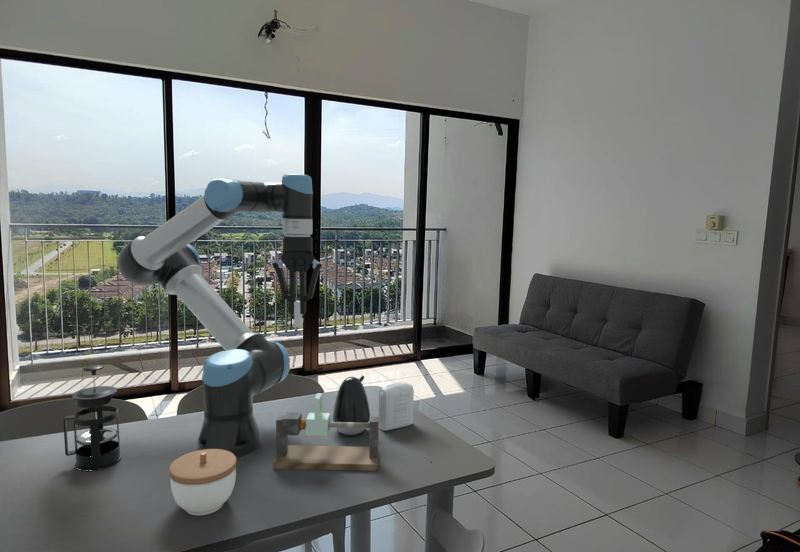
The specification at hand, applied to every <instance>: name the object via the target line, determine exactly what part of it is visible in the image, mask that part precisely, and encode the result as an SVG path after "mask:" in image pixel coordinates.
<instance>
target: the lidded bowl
mask: <svg viewBox="0 0 800 552" xmlns="http://www.w3.org/2000/svg"><path fill="white" fill-rule="evenodd" d="M168 474H169V479H170V490H171V493H172V497H173V498H174V499H173V500H174V501H175V503H176V504H177V505H178V506H179V507H180V508H181V509H183V510H184V511H185V512H186V513H187V514H188V515H191V516H198V517H199V516H201V517H202V516H206V515H210V514H213V513H216V512H217V511H219V510H220V509H221V508H222V507H223V505H224V504H225V502H227V501H228V499H229V498H230V496H231V495H232V494H233V493H232V492H233V490H234V488H235V484H236V479H237V457H236V456H235V455H234V454H233V453H231V452H229V451H226V450H222V449H204V450H198V449H197V450H194V451H191V452H188V453H185V454H183V455H181V456H179V457H178V458H177V457H176V459H174V460H173V461H172V463H170V465H169V467H168Z"/></svg>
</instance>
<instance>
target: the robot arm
mask: <svg viewBox="0 0 800 552" xmlns="http://www.w3.org/2000/svg"><path fill="white" fill-rule="evenodd" d="M281 177H282V179H281V182H262V181H254V180H253V181H252V180H251V181H250V180H249V181H248V180H239V179H232V178H228V177H227V178H216V179H212V180H211V181H209V183H207V186H206V188H204V195H201V197H199V198H198V199H196V200H195V201H194V202H192V203H191V204H189V205H188V206H186V207H185V208H184V209H183V210H180V212H178V213H177V214H175V215H174V216H173V217H171V218H170V219H168V220H166V221H165V222H164V223H162V224H161V225H160V226H158V227H157V228H155V230H153V231H151V232H150V233H149V234H147V235H145V236H138V237H136V238H134V239H133V240H132V241H130V242H128V244H126V245H125V246H124V247H123V248H122V249H121V251H120V252H119V255H118V257H117V267H118V271H119V273H120V274H121V276H122V277H123V279H125V280H126V281H128V282H129V283H131V284H134V285H137V286H151V285H159V286H161V287H162V288H163V289H164V291H165V292H166V293H167V294H168V295H173V296H174V295H175V296H177V297H178V299H180V300H181V302H182V303H183V304H184V305H185V306H186V307H187V309H188V310H189V311H190V312H191V313H192V314H193V315H194V316H195V317H196V319H197V320H198V321H199V322H200V324H202V325H203V327H204V328H205V329H206V330H207V331H208V333H210V334H211V336H212V337H213V338H214V339H215V340H216V342H217V343H218V344H219V345H220V346H221V348H223V349H224V350H222V351H218V352H215V353H213V354H211V355H210V356H208V357H207V358H206V359H205V360H204V363H203V365H202V377H201V379H202V380H201V381H202V390H203V392H202V393H203V397H202V398H203V421H202V425H201V428H200V429H199V430H200V431H199V433H198V438H197V442H196V443H197V451H198V450H204V449H222V450H226V451H229V452H231V453H233V454H234V455H235V456H236V458H237V457H241V456H245V455H247V454H249V453H251V452H254V451H255V450H256V449H258V447H259V446H260V444H261V431H260V429H259V425H258V423H257V421H256V417H255V416H254V412H253V410H254V408H253V407H254V406H253V403H254V401H253V400H254V398H253V397H255V396H257V395H258V394H261V393H263V392H264V391H266V390H268V389H272V388H274V387H275V386H278V384H280V383H281V382H283V380H285V379H286V377H287V376H288V374H289V372H290V368H291V365H290V363H291V358H290V354H289V352H288V350H287V349H286V347H285V346H284V344H281V343H279V342H277V341H269V340H267V338H266V337H265V336H264V334H262V333H261V332H253V331H252V330H251V329H250V328H249V327H248V326H247V325H246V324H245V322H244V321H243V320H242V319H241V318H240V317H239V316H238V314H237V313H235V311H234V310H233V309H232V308H231V307H230V306H229V305H228V304H227V302H226V301H225V300H224V298H222V297H221V296H220V294H218V292H217V291H216V290H215V288H213V287H212V285H210V284H209V282H208V281H207V280H206V279H205V278H204V277H203V276H202V274H203V268H202V261H201V260H200V258H201V257H200V254H199V253H198V251H197V250H196V248H195V247H194V246H192V244H191V243H192V242H194V241H196V240H197V239H199V238H201V237H202V236H203V235H204V234H206V233H207V232H208V231H210V230H211V229H214V227H216V226H218V225H220V224H221V223H223V222H224V221H225V220H227V219H228V218H230V217H232V216H234V214H236V213H238V212H253V213H261V212H263V213H265V212H267V213H271V212H272V213H277V212H278V213H281V214H282V234H283V235H284V236H283V237H282V254H281V256H280V259H278V260H277V261H275V262H273V263H272V268H273V269H274V270H275V272H276V275H277V280H278V283H279V287H280V292H281V295H282V298H283V300H287V301H288V302H289V309H290V310H289V311H290V314H293V318H294V321H293V322H294V326H293V327H294V328H301V327H302V325H303V315H305V314H306V312H307V301H310V300H311V299H312V298H313V297H314V293H315V291H316V290H315V289H316V285H317V281H318V277H319V272H320V271H321V269H322V268H323V266H324V264H323V262H319V261H318V260H316V259H315V255H314V253H313V252H314V251H313V242H314V241H313V239H314V238H313V237H312V236H311V235H313V227H314V226H313V225H314V224H313V223H314V222H313V195H314V191H313V180H312V177H311V176H310V175H308V174H300V173H288V174H286V173H285V174H283V175H282V176H281ZM284 266H285V267H286V269H287V270H288V272H289V273H288V275H289V288H288V283H287V281H286V276H285V272H284V269H283V268H284ZM311 266H312V268H313V271H312V274H311V277H310V282H309V285H308V291H307V271H308V269H309V268H310V267H311ZM297 273H299V274H298V276H299V300H297V299H298V297H297Z"/></svg>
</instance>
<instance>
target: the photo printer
mask: <svg viewBox="0 0 800 552" xmlns="http://www.w3.org/2000/svg"><path fill="white" fill-rule="evenodd" d="M414 394H415V390H414V386H413V384H412V383H408V382H403V381H401V382H399V381H397V382H393V383H390V384H388V385H385V386H384V387H382V388H380V390H379V396H378V399H379V400H378V417H379V430H380V431H383V432H384V431H391V430H394V429H400V428H403V427H408V426H411V425H413V422H414V401H415V400H414V396H415V395H414Z"/></svg>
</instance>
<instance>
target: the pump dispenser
mask: <svg viewBox="0 0 800 552" xmlns="http://www.w3.org/2000/svg"><path fill="white" fill-rule="evenodd" d="M364 379H365V376H364V375H363V374H362V375H361V376H360V377H355V376H349V377H346V378H345V379H343V381H342V382H341V383H340V385H339V388H338V390H337V393H336V396H335V400H334V404H333V410H332V422H359V423H370V417H371V408H370V403H369V399H368V398H369V397H368V394H367V392H366V389H365V387H364V384H363V383H362V382H363V381H364ZM335 428H336V430H337V431H338V432H340V434H343V435H346V436H355V435H356V436H357V435H359V434H361V433H363V432H364V431H365V430H366V429H367V428H347V427H335Z"/></svg>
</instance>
